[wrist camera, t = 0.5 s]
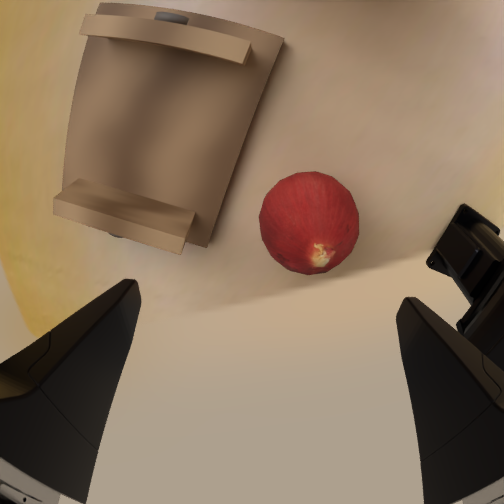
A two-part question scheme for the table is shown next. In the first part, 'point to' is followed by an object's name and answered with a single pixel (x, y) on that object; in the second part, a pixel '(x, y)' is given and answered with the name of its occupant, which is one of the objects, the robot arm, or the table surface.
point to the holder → (159, 121)
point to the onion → (309, 222)
